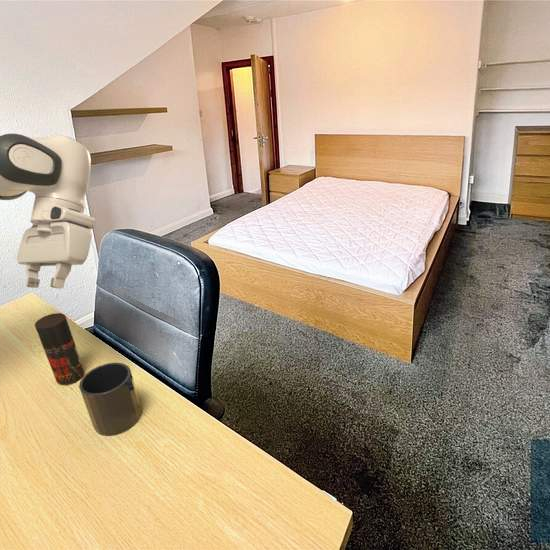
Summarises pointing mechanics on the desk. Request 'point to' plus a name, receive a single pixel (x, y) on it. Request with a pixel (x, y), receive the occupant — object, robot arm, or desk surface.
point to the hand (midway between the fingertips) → (43, 287)
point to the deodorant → (60, 348)
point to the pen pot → (111, 398)
